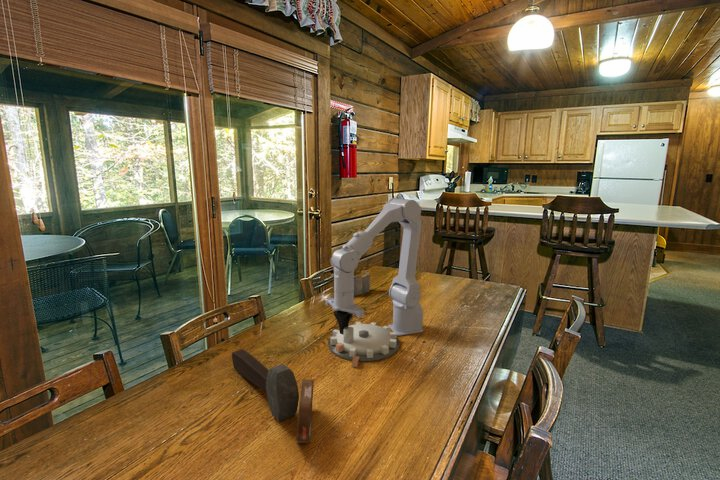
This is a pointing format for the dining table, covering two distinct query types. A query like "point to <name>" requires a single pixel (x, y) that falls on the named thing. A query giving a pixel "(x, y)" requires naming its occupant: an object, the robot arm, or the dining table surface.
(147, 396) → the dining table surface
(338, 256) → the robot arm
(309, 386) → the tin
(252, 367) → the hammer
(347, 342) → the sprocket wheel
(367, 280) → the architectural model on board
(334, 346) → the wheel base
